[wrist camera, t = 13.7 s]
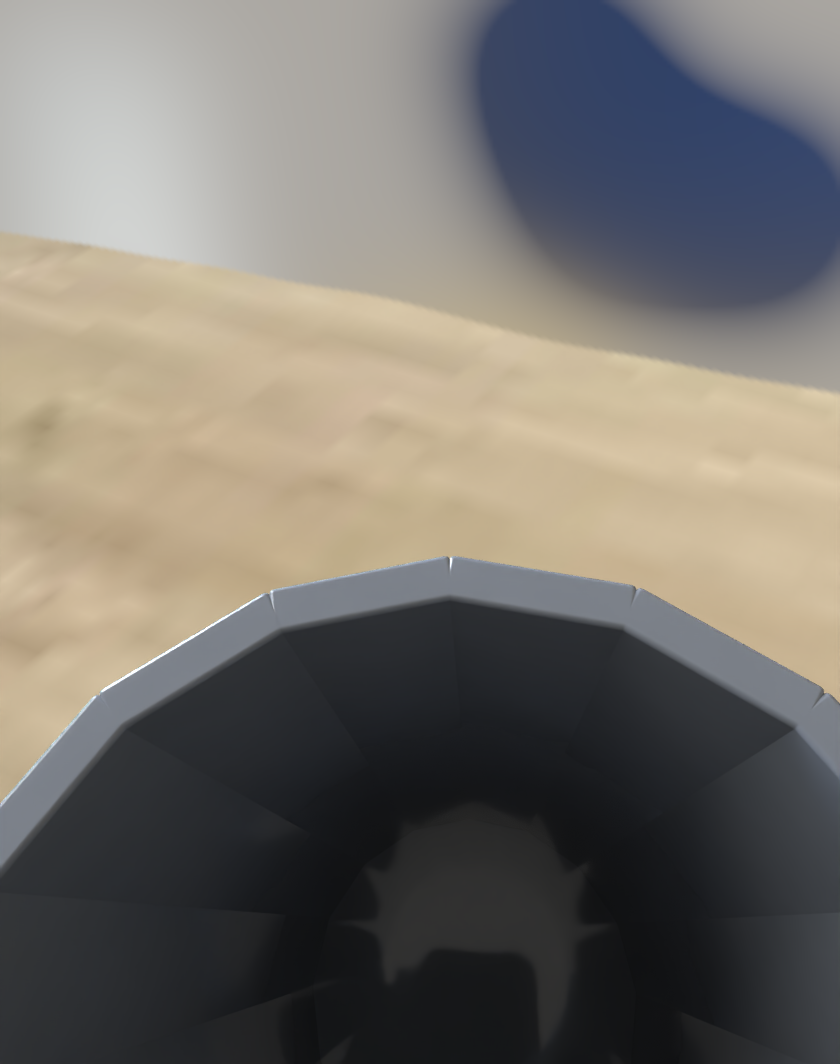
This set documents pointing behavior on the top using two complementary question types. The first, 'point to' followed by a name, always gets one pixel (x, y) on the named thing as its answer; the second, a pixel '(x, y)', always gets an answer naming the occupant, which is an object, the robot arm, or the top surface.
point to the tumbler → (432, 839)
